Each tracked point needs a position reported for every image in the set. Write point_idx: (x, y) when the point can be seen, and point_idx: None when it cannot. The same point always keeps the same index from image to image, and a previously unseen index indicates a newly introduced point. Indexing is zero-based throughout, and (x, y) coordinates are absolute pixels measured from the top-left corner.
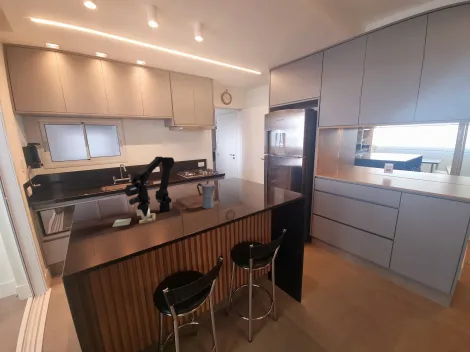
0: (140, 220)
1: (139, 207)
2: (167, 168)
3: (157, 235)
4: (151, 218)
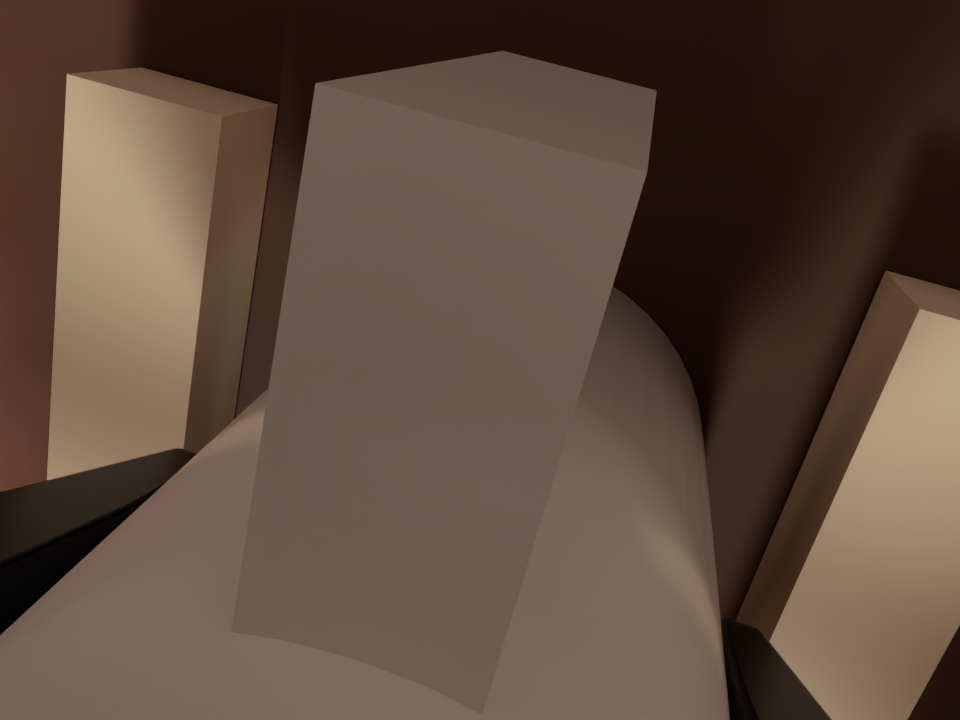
0: (153, 157)
1: None
2: None
3: None
4: None
